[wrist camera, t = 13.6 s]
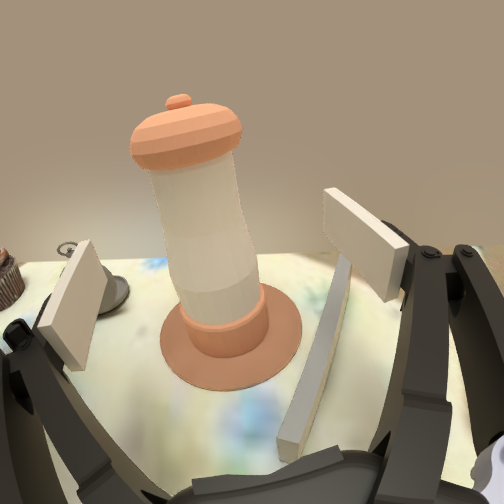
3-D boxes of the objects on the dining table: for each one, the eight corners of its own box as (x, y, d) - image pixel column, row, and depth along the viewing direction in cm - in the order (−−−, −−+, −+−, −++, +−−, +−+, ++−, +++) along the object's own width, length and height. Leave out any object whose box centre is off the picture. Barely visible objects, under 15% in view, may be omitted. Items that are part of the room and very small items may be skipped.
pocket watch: (116, 275, 35) (89, 207, 30) (147, 300, 30) (116, 220, 25) (68, 307, 30) (33, 240, 25) (90, 341, 25) (44, 262, 20)
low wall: (279, 460, 15) (276, 437, 12) (337, 289, 28) (340, 248, 26) (297, 464, 14) (298, 443, 12) (349, 291, 28) (353, 250, 25)
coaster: (136, 360, 23) (133, 356, 23) (204, 276, 33) (203, 272, 33) (271, 411, 18) (271, 408, 18) (316, 296, 28) (316, 292, 28)
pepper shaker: (286, 325, 24) (263, 81, 14) (219, 373, 21) (138, 102, 11) (236, 288, 29) (199, 91, 19) (175, 324, 26) (107, 114, 16)
